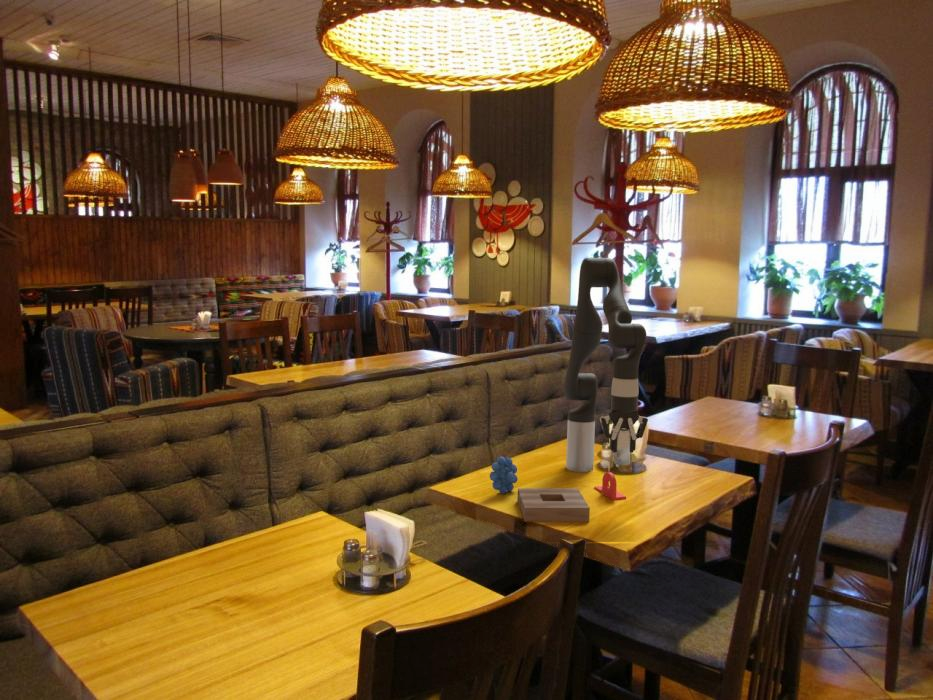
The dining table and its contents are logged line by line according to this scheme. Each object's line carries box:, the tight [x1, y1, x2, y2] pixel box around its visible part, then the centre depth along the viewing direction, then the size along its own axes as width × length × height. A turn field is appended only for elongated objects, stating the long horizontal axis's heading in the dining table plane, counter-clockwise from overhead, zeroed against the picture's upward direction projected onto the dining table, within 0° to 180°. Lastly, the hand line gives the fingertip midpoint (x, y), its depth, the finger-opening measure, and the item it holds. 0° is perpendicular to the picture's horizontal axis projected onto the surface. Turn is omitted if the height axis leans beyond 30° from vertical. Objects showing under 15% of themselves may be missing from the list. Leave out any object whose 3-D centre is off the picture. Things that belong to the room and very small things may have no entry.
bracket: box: [594, 471, 627, 501], centre depth 239 cm, size 12×4×8 cm, turn 18°
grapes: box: [489, 456, 519, 495], centre depth 237 cm, size 12×7×12 cm, turn 133°
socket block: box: [517, 487, 591, 523], centre depth 222 cm, size 18×18×4 cm
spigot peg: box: [613, 428, 631, 466], centre depth 222 cm, size 4×4×10 cm
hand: (622, 451), depth 222 cm, fingers closed on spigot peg, 4 cm apart
